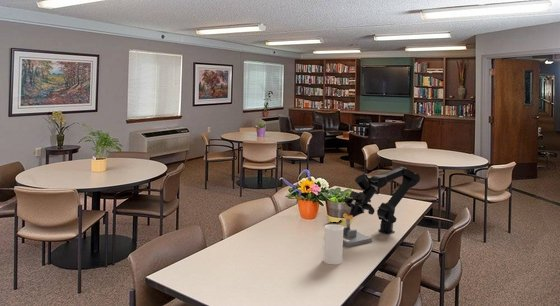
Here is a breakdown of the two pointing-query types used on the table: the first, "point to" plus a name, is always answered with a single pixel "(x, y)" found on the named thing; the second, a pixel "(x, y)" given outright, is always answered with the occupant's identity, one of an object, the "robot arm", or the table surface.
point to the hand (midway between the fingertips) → (349, 218)
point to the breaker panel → (354, 238)
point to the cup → (333, 244)
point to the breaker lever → (348, 220)
